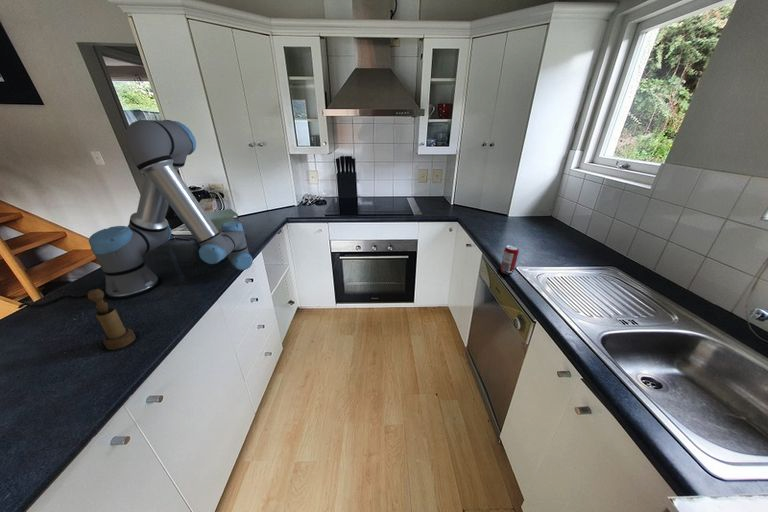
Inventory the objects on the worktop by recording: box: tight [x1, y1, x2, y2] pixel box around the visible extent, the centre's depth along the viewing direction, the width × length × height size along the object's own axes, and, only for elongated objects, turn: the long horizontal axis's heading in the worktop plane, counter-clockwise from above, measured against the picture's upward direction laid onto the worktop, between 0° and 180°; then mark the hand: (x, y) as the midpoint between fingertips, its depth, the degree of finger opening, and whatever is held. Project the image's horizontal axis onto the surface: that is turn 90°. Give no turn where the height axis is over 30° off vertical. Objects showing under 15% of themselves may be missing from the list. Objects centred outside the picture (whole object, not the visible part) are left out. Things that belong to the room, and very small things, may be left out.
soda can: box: [499, 244, 520, 275], centre depth 118 cm, size 6×6×12 cm
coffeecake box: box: [198, 197, 219, 213], centre depth 151 cm, size 15×7×20 cm, turn 22°
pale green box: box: [206, 208, 239, 230], centre depth 133 cm, size 16×12×19 cm
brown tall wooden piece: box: [86, 288, 137, 351], centre depth 76 cm, size 7×6×18 cm
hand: (221, 236), depth 136 cm, fingers open, 12 cm apart
